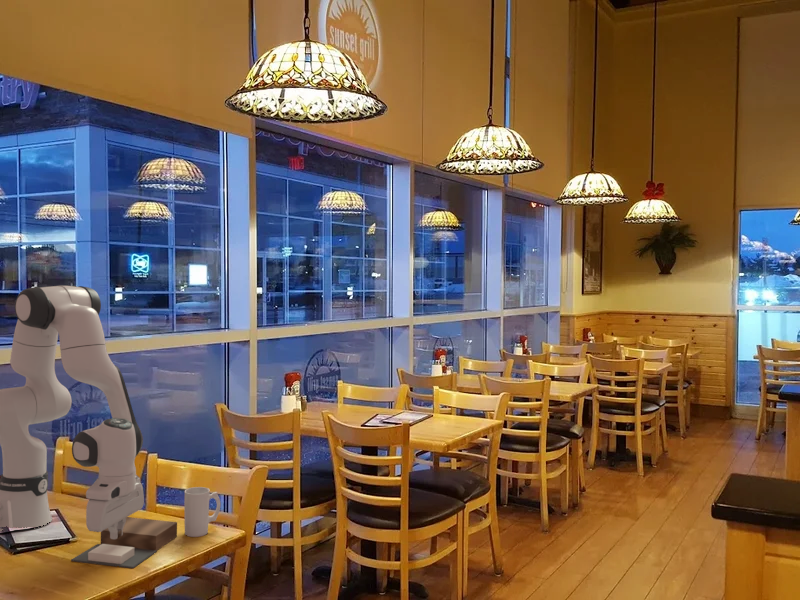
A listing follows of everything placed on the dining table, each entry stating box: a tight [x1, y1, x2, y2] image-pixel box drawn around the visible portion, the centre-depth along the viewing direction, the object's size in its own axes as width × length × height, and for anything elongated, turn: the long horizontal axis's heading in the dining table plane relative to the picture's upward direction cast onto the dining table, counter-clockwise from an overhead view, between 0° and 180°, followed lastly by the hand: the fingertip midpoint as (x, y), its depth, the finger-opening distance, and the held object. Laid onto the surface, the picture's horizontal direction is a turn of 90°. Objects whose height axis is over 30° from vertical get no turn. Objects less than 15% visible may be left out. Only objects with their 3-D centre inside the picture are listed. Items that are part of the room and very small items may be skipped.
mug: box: [183, 486, 221, 538], centre depth 206 cm, size 10×7×12 cm, turn 119°
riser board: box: [100, 516, 178, 551], centre depth 199 cm, size 16×11×4 cm
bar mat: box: [70, 543, 158, 569], centre depth 187 cm, size 17×11×1 cm, turn 79°
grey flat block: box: [88, 543, 134, 564], centre depth 185 cm, size 9×6×2 cm, turn 79°
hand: (116, 537), depth 188 cm, fingers closed
